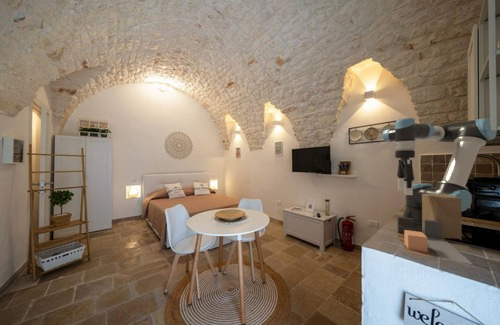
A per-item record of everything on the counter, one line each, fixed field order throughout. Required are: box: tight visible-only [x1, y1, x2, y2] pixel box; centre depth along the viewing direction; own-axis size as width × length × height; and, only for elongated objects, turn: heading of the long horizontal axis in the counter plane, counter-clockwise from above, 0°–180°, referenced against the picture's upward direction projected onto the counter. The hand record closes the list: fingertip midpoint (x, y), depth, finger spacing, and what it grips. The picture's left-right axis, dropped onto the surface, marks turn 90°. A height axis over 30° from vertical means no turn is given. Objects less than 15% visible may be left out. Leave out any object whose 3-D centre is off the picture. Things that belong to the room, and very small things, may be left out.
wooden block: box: [421, 194, 462, 241], centre depth 91 cm, size 10×10×20 cm
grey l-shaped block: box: [422, 219, 473, 265], centre depth 78 cm, size 24×8×9 cm, turn 151°
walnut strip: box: [395, 216, 435, 259], centre depth 83 cm, size 24×8×9 cm, turn 151°
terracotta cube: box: [404, 230, 428, 252], centre depth 78 cm, size 6×6×6 cm
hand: (404, 192), depth 92 cm, fingers open, 13 cm apart
